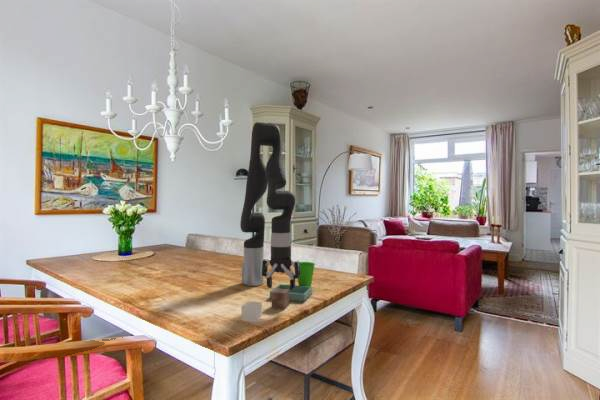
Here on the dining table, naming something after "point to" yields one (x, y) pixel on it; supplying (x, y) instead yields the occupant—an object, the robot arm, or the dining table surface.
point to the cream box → (251, 311)
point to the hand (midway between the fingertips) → (280, 288)
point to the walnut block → (280, 298)
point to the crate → (296, 292)
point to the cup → (306, 273)
